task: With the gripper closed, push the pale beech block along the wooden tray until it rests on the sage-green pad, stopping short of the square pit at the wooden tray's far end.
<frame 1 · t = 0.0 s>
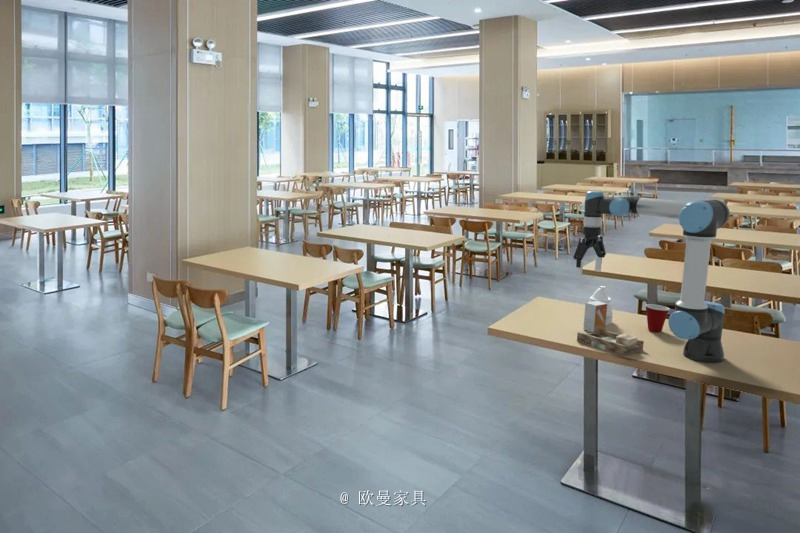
hand: (588, 272, 288), 28 cm above the table, tool pointing down, fingers open, 13 cm apart
white piece: (598, 321, 312), on the table
wooden tray: (609, 345, 275), on the table
plastic cup: (655, 331, 298), on the table
block: (625, 345, 268), point 2 cm above the table, touching wooden tray
small box: (594, 330, 298), on the table
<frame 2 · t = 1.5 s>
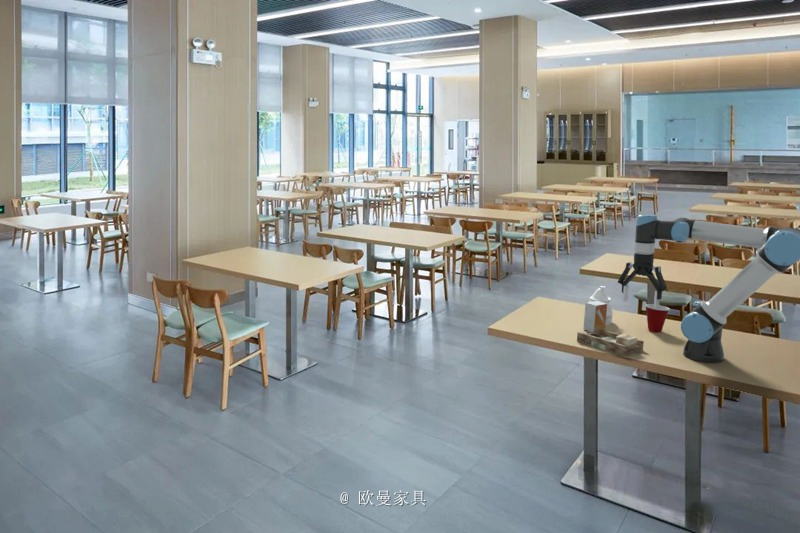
hand: (640, 303, 262), 21 cm above the table, tool pointing down, fingers open, 13 cm apart
nothing on the table moved.
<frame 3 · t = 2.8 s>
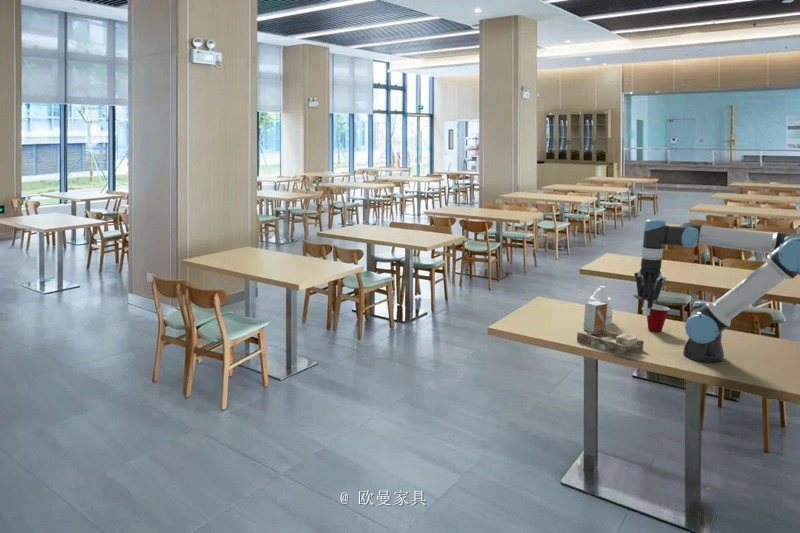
hand: (646, 315, 259), 17 cm above the table, tool pointing down, fingers closed
nothing on the table moved.
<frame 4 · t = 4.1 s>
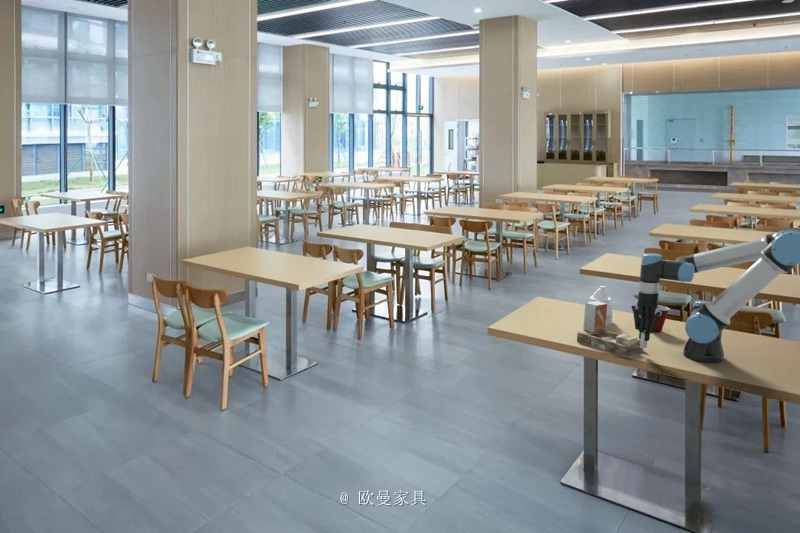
hand: (643, 347, 262), 3 cm above the table, tool pointing down, fingers closed
nothing on the table moved.
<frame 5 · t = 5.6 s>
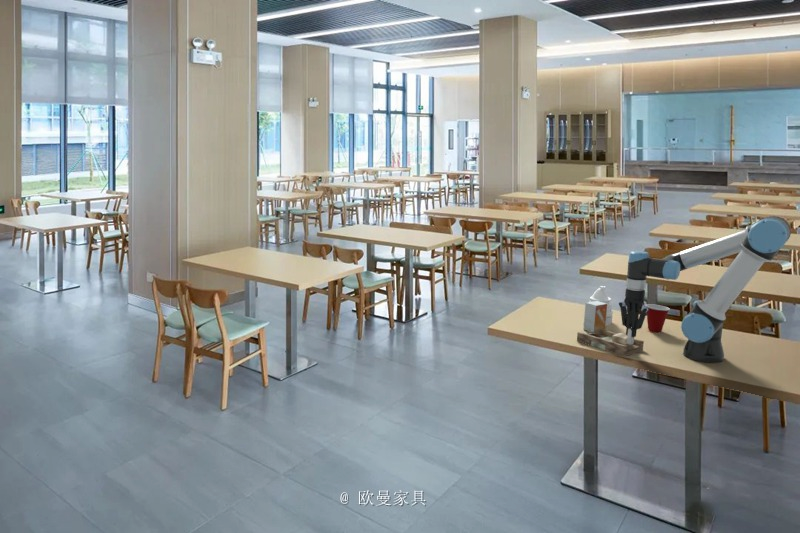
hand: (630, 343, 267), 4 cm above the table, tool pointing down, fingers closed
block: (622, 344, 270), point 2 cm above the table
everything else where it was.
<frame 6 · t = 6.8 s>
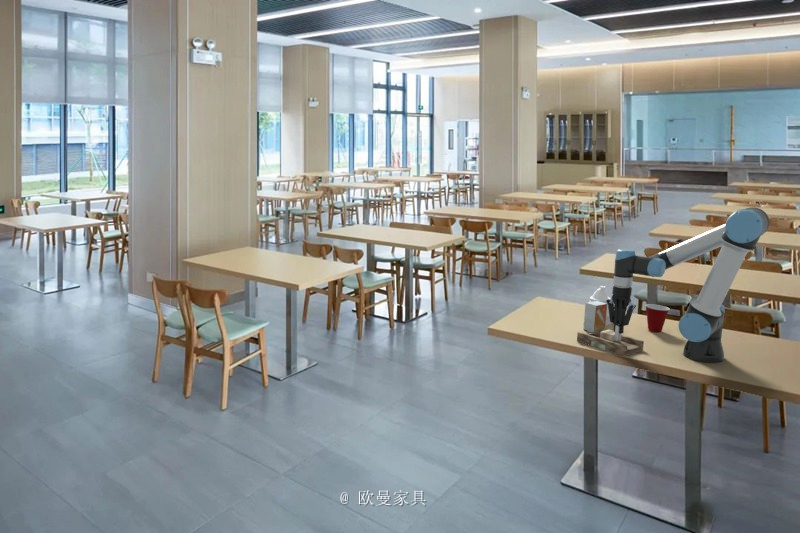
hand: (617, 340, 271), 4 cm above the table, tool pointing down, fingers closed
block: (609, 341, 275), point 2 cm above the table, touching gripper, wooden tray
everything else where it was.
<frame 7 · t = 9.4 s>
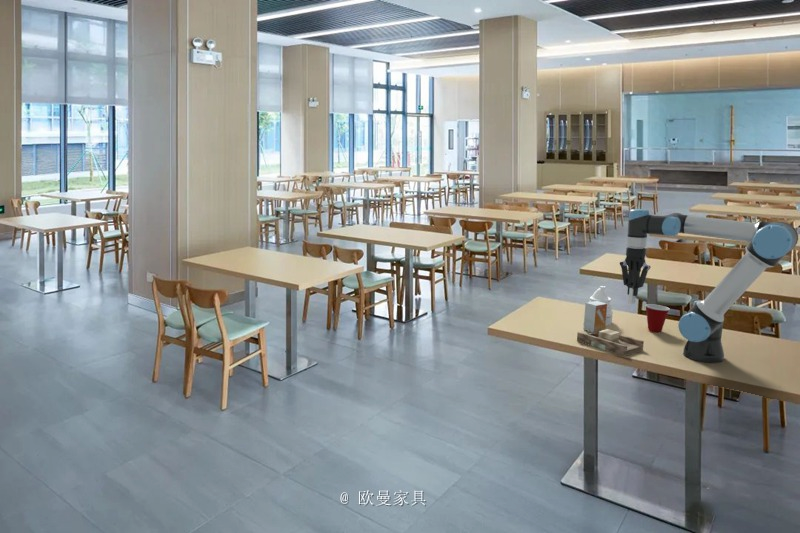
hand: (631, 303, 265), 20 cm above the table, tool pointing down, fingers closed
block: (608, 340, 275), point 2 cm above the table, touching wooden tray
everything else where it was.
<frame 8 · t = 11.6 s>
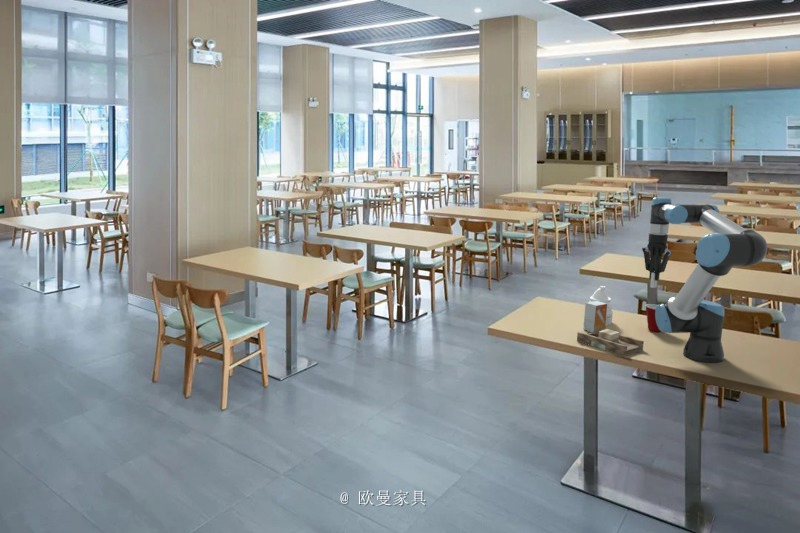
hand: (653, 287, 278), 24 cm above the table, tool pointing down, fingers closed
nothing on the table moved.
at the end: block inside the target area on the wooden tray (0.4 cm from its centre), point 2.0 cm above the wooden tray's base; block tilted 0° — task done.
